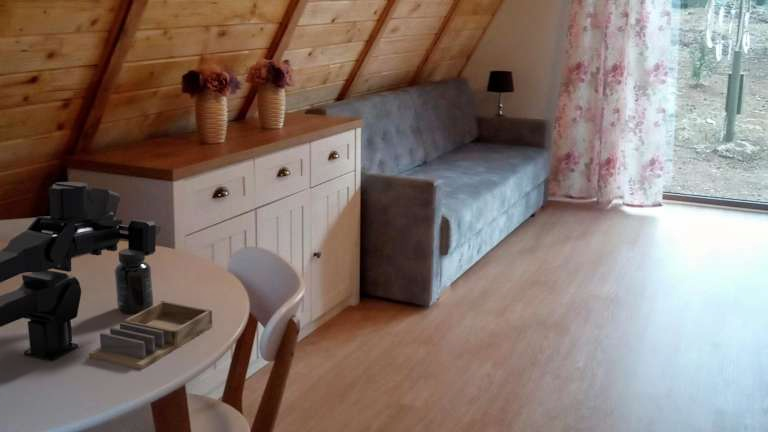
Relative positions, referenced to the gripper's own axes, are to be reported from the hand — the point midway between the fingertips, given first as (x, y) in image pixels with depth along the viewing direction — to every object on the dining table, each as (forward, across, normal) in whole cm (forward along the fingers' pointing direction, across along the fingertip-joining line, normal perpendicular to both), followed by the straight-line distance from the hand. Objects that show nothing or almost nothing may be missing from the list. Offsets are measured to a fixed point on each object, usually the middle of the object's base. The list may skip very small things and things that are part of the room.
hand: (140, 225), depth 162 cm
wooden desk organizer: (-12, -13, +18) cm, 25 cm away
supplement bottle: (-2, 0, +17) cm, 17 cm away
